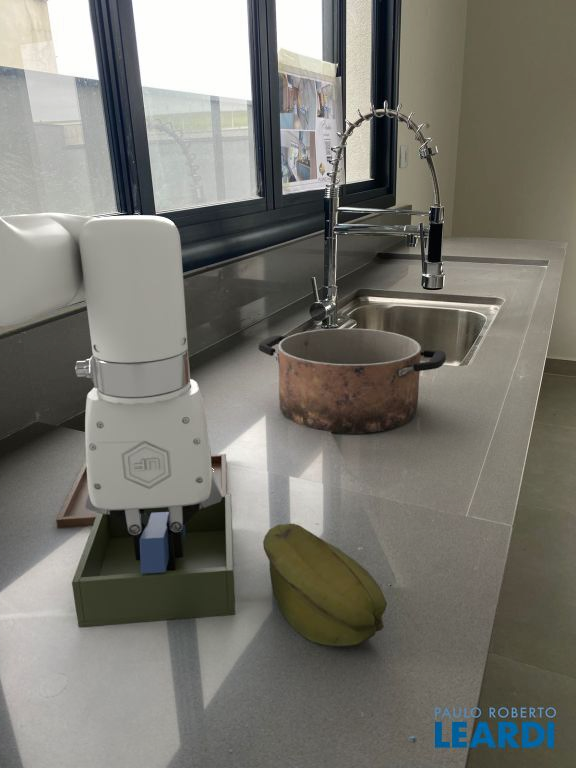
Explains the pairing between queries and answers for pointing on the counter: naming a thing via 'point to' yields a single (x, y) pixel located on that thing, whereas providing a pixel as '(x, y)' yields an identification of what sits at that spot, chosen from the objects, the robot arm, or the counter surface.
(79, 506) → the tray
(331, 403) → the cooking pot
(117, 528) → the bin
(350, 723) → the counter surface
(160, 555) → the blue block
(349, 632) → the fruit
